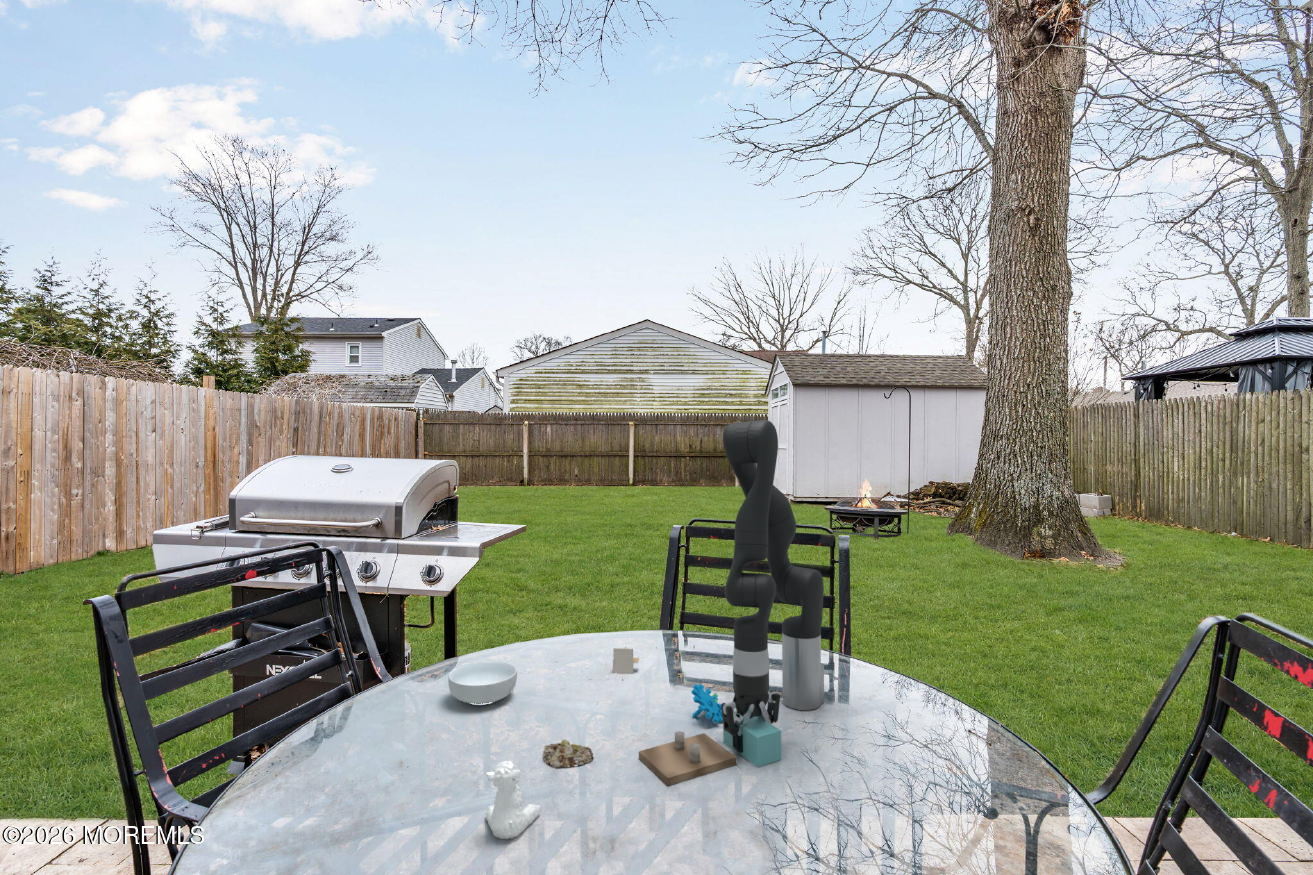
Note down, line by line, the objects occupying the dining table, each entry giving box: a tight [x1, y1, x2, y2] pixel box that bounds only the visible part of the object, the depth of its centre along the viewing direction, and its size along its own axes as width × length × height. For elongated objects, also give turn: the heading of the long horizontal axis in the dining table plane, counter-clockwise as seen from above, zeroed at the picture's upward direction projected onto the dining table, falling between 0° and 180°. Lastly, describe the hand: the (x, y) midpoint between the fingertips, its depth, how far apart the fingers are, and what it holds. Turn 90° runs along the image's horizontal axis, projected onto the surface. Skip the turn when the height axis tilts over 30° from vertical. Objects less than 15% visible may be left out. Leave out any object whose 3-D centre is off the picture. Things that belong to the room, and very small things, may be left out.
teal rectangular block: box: [722, 714, 782, 768], centre depth 141 cm, size 6×12×6 cm, turn 29°
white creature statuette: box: [485, 760, 542, 840], centre depth 115 cm, size 10×9×12 cm
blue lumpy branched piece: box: [690, 683, 723, 724], centre depth 157 cm, size 11×6×10 cm
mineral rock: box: [542, 739, 595, 769], centre depth 138 cm, size 11×4×8 cm
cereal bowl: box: [448, 660, 518, 704], centre depth 168 cm, size 17×17×7 cm
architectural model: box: [612, 646, 640, 675], centre depth 186 cm, size 3×7×7 cm, turn 85°
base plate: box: [638, 730, 738, 787], centre depth 137 cm, size 16×12×4 cm
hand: (751, 746), depth 141 cm, fingers closed on teal rectangular block, 6 cm apart
